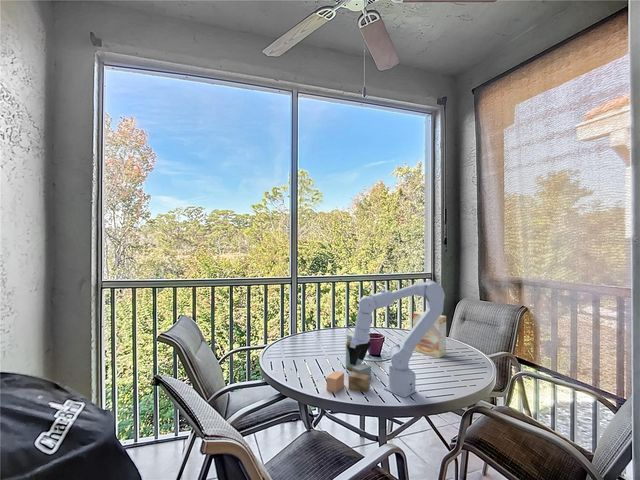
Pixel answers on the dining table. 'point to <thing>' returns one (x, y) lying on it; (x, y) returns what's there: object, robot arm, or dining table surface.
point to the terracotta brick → (335, 381)
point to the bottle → (348, 365)
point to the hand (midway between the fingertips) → (356, 361)
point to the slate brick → (362, 369)
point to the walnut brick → (359, 382)
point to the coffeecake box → (432, 337)
